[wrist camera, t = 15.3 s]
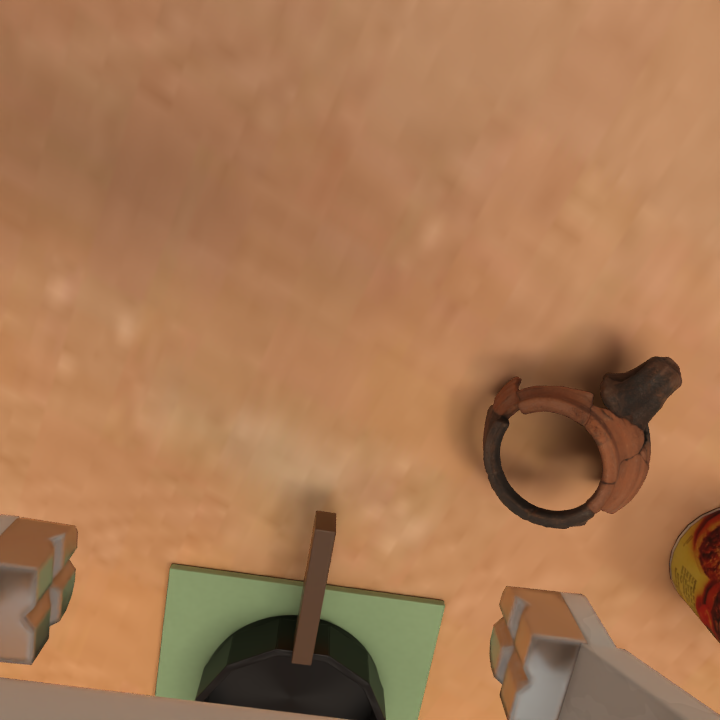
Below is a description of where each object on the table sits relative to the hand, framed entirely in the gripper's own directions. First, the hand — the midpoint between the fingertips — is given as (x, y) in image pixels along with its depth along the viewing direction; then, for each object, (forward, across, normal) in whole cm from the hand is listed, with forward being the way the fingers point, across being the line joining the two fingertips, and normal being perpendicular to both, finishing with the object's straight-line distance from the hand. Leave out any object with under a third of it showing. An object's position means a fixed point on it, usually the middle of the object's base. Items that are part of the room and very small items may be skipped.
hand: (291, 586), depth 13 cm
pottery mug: (+27, -16, +4) cm, 32 cm away
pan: (+27, -2, +22) cm, 34 cm away
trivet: (+27, -2, +26) cm, 38 cm away
